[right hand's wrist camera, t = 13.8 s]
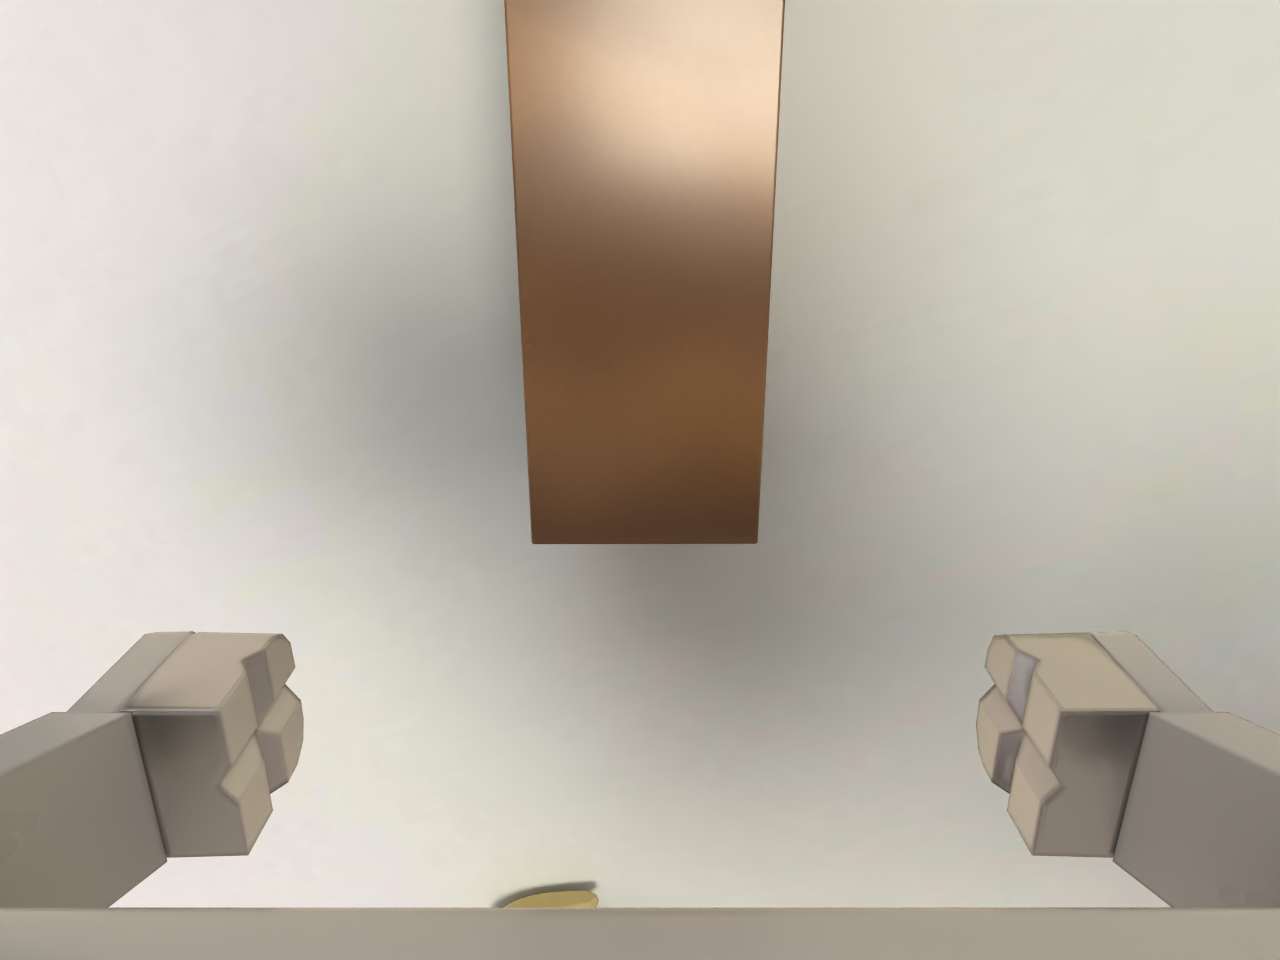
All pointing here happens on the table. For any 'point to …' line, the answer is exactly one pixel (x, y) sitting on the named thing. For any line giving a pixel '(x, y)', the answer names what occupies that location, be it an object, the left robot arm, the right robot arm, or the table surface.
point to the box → (644, 262)
